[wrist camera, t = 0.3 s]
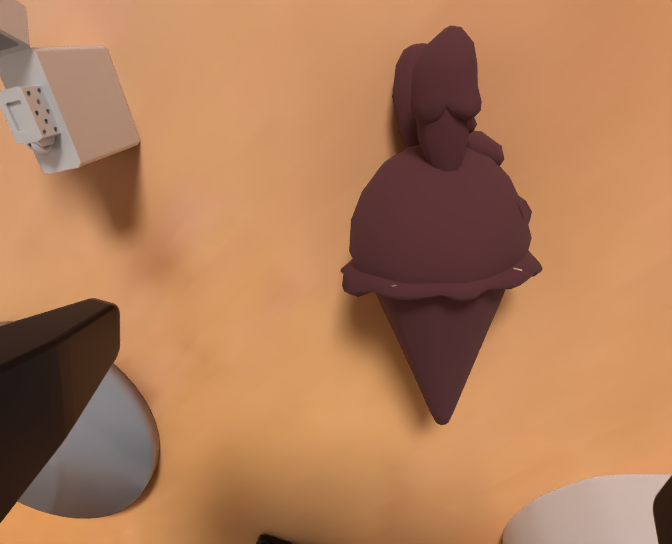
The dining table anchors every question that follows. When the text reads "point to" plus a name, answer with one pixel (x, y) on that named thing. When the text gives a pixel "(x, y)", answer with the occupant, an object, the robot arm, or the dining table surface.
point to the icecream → (440, 222)
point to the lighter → (61, 98)
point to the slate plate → (100, 455)
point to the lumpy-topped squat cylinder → (591, 513)
